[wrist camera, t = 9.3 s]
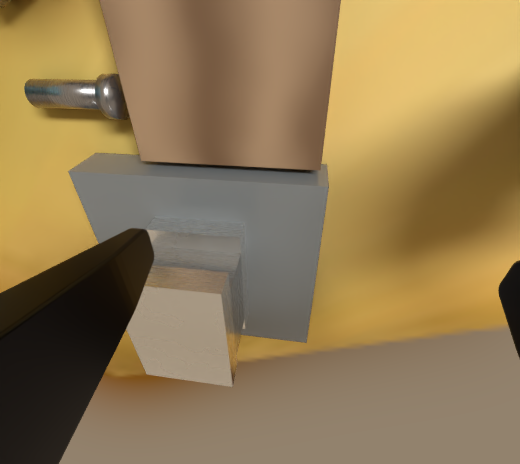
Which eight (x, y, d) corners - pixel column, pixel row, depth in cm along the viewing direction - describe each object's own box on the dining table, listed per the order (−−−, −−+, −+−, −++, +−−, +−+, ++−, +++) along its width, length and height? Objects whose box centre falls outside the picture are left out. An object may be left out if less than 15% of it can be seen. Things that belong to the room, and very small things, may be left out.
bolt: (126, 70, 18) (103, 78, 16) (136, 113, 19) (116, 125, 17) (36, 69, 18) (4, 76, 16) (53, 110, 20) (25, 121, 18)
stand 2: (326, 164, 19) (328, 186, 17) (307, 314, 28) (306, 342, 26) (95, 152, 21) (68, 171, 19) (146, 296, 30) (131, 321, 28)
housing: (244, 223, 19) (221, 294, 14) (248, 313, 25) (232, 386, 20) (155, 216, 20) (105, 281, 15) (178, 305, 25) (146, 374, 20)
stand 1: (349, -98, 12) (354, -113, 11) (319, 156, 19) (320, 170, 17) (102, -85, 14) (74, -96, 12) (154, 148, 20) (141, 160, 19)
